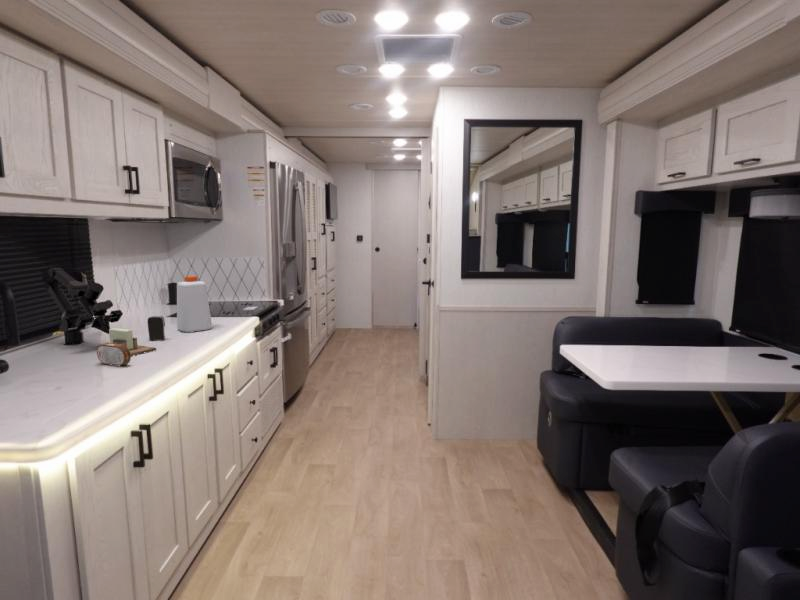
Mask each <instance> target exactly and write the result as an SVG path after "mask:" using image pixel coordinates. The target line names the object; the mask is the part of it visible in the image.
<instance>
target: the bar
mask: <svg viewBox="0 0 800 600" xmlns="http://www.w3.org/2000/svg"><path fill="white" fill-rule="evenodd" d="M108 335H109V343H113V340H114V339H119V340H126V341H127V348H128V349H133V348H134V346H133V338H134V336H133V335H134V334H133V330H132V329H125V328H117V327H116V328H115V327H113V328H110V329H109V334H108Z"/></svg>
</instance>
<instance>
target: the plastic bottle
mask: <svg viewBox="0 0 800 600" xmlns="http://www.w3.org/2000/svg"><path fill="white" fill-rule="evenodd" d="M210 309H211V307H210V303H209V295H208V289H207V283H206V282H205V281H201V280H198V276H196V275H191V276H189V275H188V276H185V277H184V281H179V282H177V284H176V328H177V330H178V331H180V332H182V333H196V332H195V331H197V332H202V330H203V331H209V330H211V329H212V328H213V323H212V317H211V311H210ZM208 329H209V330H208Z"/></svg>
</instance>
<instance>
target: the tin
mask: <svg viewBox="0 0 800 600" xmlns="http://www.w3.org/2000/svg"><path fill="white" fill-rule="evenodd" d="M96 355H97V359H98V360H99V361H100V363H102V364H103V365H107V364H112V365H111V366H115V365H123V366H124V365H125V364H126V365H128V364H129V363H130V361H131V358H132V356H131V354H130V351H129V349H128V348H127V347H126V346H125V345H123V344H115V343H110V342H104V343H102V344H100V345H98V346H97V348H96Z"/></svg>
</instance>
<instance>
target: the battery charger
mask: <svg viewBox="0 0 800 600" xmlns="http://www.w3.org/2000/svg"><path fill="white" fill-rule="evenodd" d="M165 321H166V320H165V317H164V316H162V315H154V316H150V317H148V318H147V331H148V336H149V339H148V340H149V341H164V340H165V339H166V336H165V326H166V324H165V323H166V322H165Z"/></svg>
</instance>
